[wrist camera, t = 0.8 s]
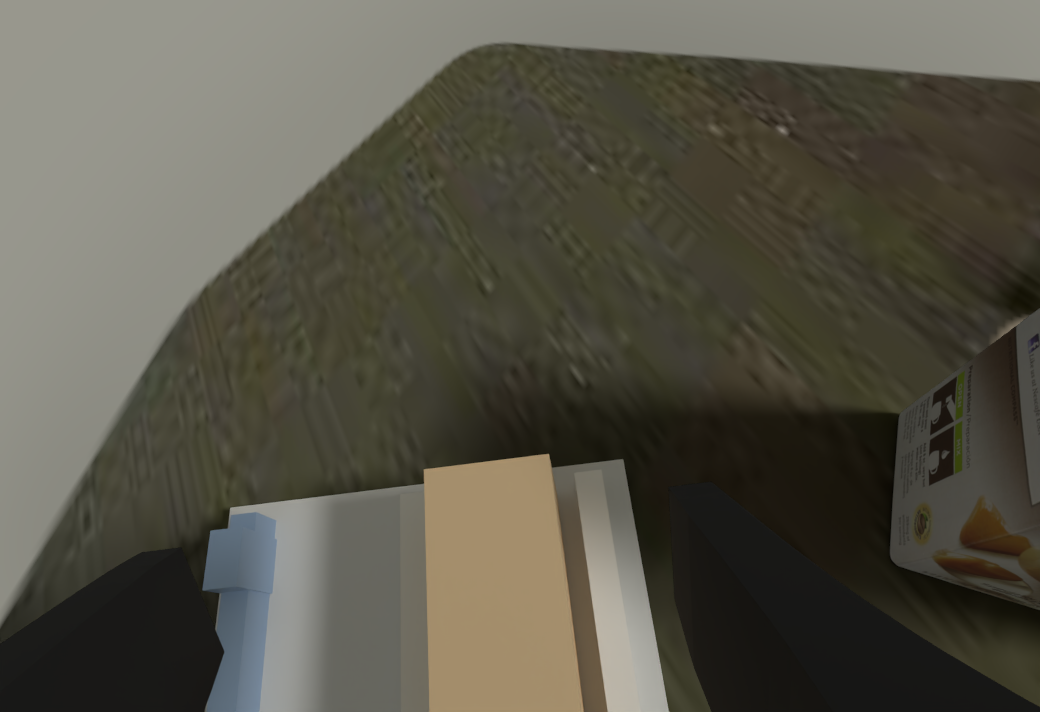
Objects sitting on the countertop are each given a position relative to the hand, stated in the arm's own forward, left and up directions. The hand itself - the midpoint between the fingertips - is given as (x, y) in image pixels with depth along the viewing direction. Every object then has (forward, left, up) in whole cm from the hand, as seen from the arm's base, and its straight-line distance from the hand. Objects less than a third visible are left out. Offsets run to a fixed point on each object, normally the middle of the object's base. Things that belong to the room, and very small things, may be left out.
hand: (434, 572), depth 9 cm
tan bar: (-2, 0, -14) cm, 14 cm away
